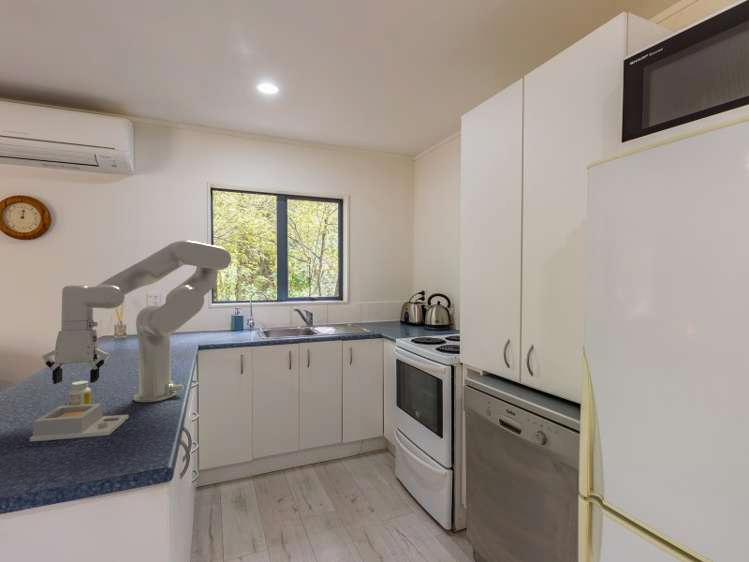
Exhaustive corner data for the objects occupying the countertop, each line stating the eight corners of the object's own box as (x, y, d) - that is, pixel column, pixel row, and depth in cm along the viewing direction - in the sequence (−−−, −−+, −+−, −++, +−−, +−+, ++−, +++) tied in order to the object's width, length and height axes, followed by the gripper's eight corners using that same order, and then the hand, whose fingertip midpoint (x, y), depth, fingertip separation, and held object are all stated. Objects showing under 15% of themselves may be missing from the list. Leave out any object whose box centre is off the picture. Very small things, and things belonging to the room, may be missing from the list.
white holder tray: (128, 417, 111) (128, 401, 111) (108, 435, 100) (108, 416, 100) (58, 423, 108) (58, 405, 108) (29, 441, 96) (29, 422, 96)
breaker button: (85, 418, 106) (85, 411, 106) (75, 425, 101) (75, 418, 101) (65, 419, 105) (65, 412, 105) (54, 427, 100) (53, 419, 100)
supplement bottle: (71, 418, 111) (70, 386, 111) (67, 414, 115) (66, 382, 114) (93, 413, 115) (92, 382, 115) (88, 409, 119) (88, 379, 118)
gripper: (114, 324, 120) (113, 378, 120) (52, 324, 116) (51, 379, 116) (103, 327, 112) (101, 384, 112) (35, 327, 109) (34, 386, 109)
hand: (76, 382), depth 114 cm, fingers open, 9 cm apart
